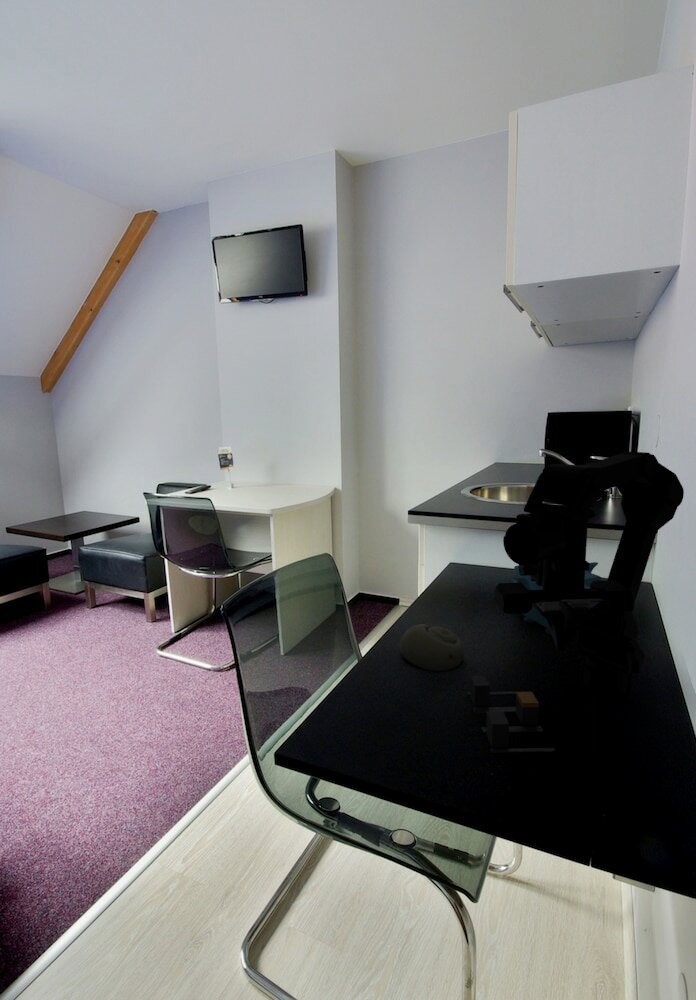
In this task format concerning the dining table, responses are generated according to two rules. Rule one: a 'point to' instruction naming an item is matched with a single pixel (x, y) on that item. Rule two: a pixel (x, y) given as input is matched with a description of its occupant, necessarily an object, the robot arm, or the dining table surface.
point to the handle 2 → (497, 729)
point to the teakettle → (531, 585)
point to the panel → (511, 728)
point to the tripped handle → (527, 708)
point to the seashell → (431, 648)
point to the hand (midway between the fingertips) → (559, 649)
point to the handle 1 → (479, 691)
